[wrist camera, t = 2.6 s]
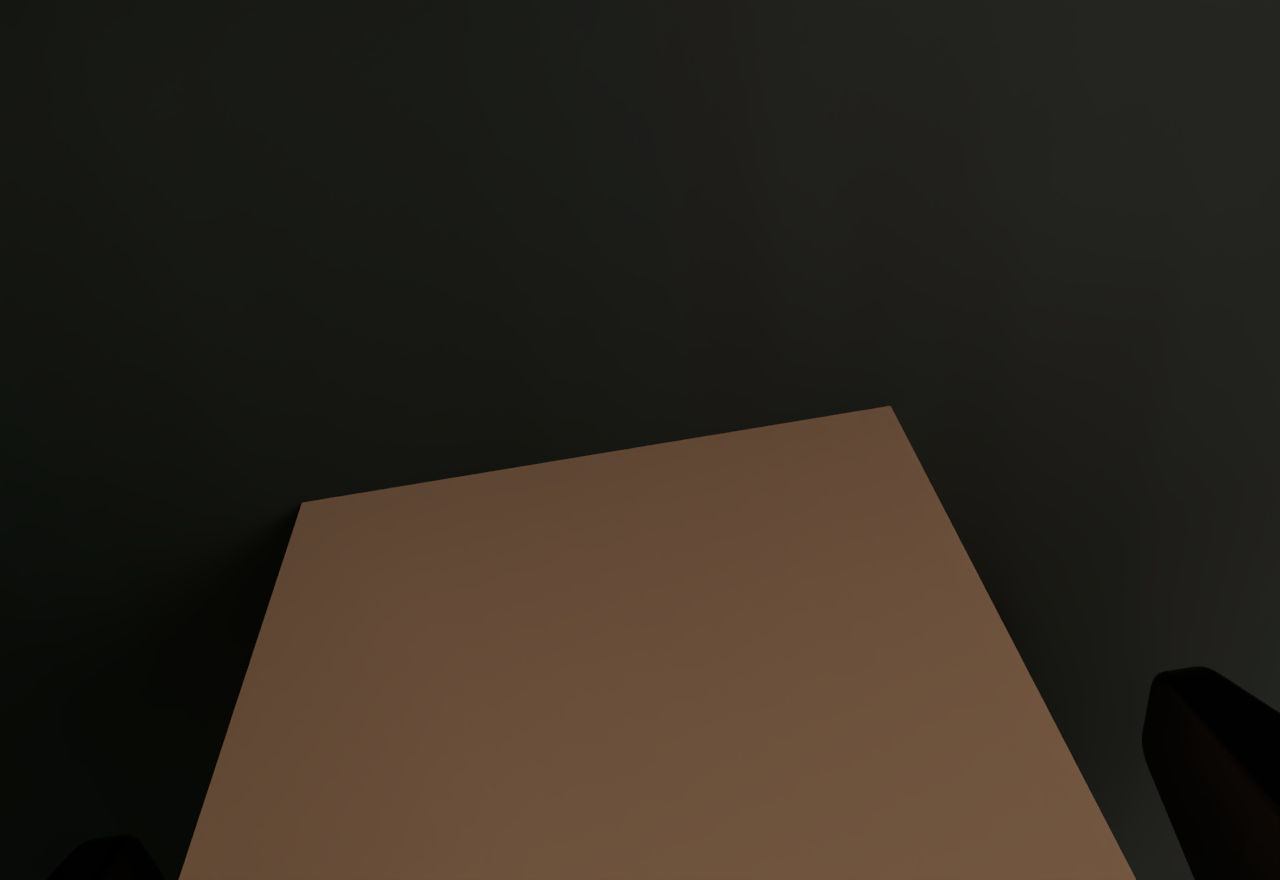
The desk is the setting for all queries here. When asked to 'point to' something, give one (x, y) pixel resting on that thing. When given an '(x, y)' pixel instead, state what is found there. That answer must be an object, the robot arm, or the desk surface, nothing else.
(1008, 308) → the desk surface
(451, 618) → the plain cardboard-brown cube
